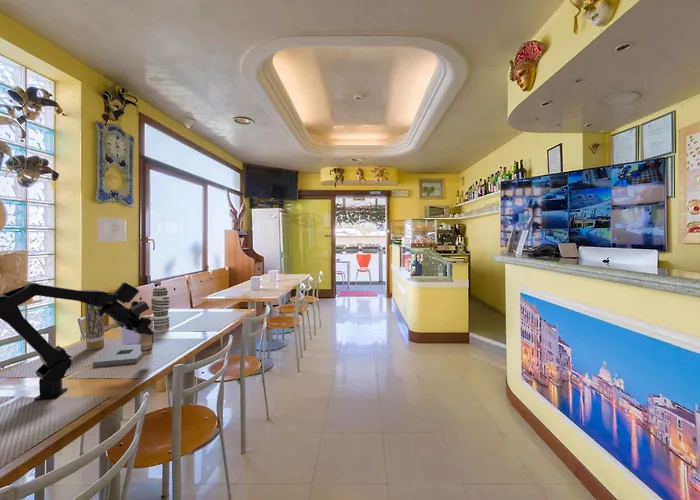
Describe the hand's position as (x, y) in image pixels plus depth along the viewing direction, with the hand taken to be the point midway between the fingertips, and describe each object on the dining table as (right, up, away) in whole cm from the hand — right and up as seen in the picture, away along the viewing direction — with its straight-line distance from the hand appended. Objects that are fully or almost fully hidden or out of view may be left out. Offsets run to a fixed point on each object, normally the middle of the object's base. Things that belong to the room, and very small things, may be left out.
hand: (149, 333), depth 136 cm
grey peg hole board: (-17, -13, +9) cm, 23 cm away
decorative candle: (-24, -11, +50) cm, 57 cm away
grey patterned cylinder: (-39, -13, +20) cm, 45 cm away
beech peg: (-1, -9, -1) cm, 9 cm away
